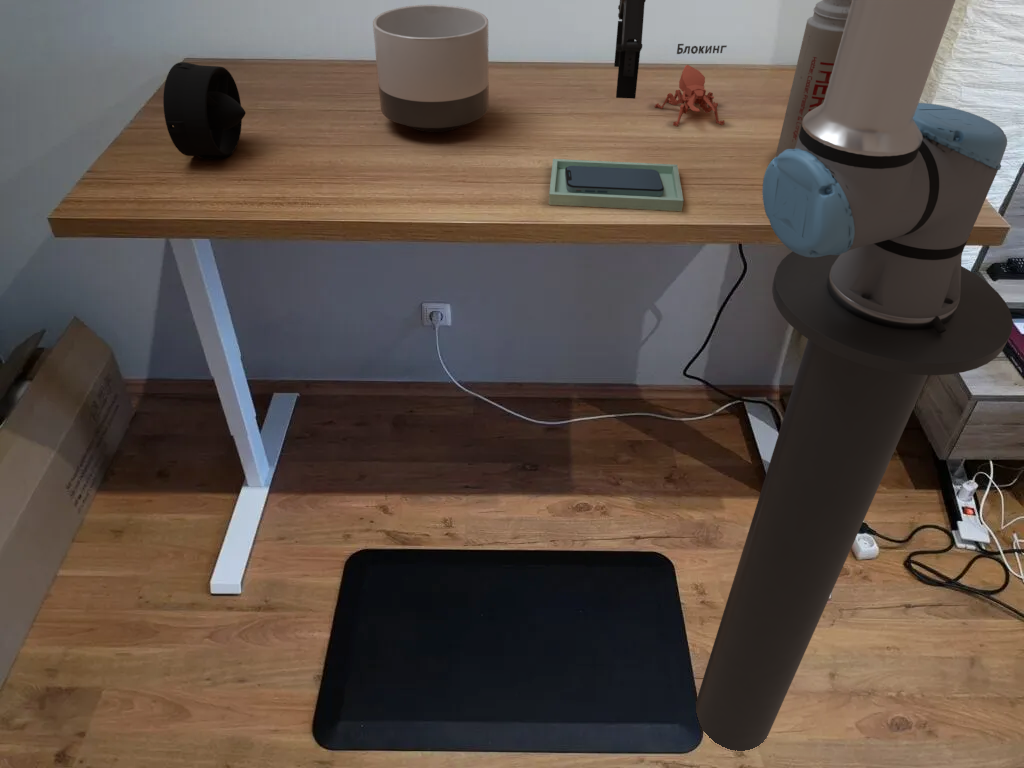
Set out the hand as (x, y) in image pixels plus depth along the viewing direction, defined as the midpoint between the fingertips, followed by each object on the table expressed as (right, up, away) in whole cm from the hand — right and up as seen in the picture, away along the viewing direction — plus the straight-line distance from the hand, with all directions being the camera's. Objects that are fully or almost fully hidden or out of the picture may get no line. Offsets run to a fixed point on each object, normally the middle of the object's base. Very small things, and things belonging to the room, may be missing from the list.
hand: (624, 81), depth 119 cm
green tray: (-1, -14, +7) cm, 16 cm away
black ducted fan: (-65, -7, +15) cm, 67 cm away
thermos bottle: (+31, -8, +15) cm, 36 cm away
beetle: (+17, +5, +31) cm, 35 cm away
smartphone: (-1, -14, +7) cm, 16 cm away
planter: (-31, +2, +26) cm, 40 cm away
